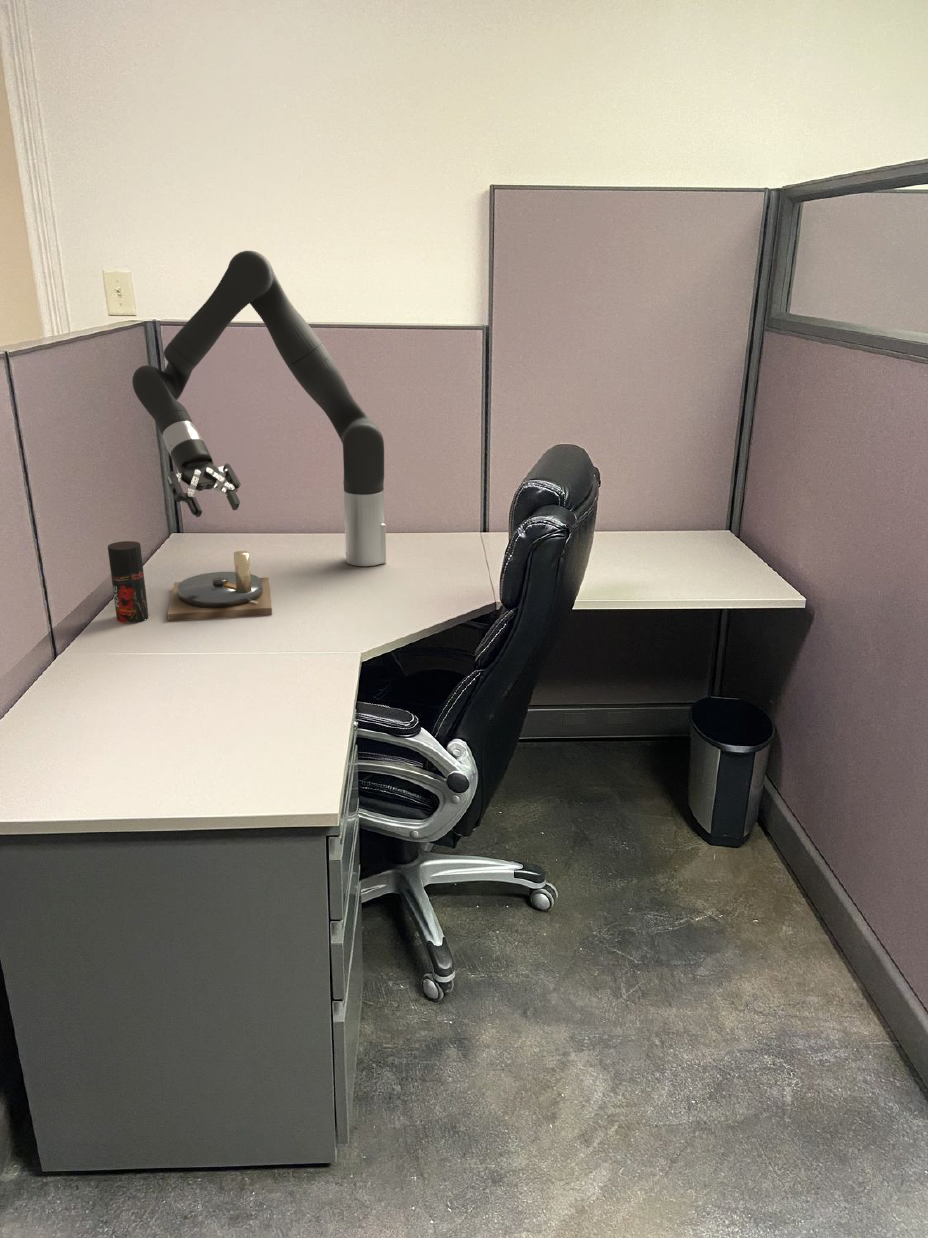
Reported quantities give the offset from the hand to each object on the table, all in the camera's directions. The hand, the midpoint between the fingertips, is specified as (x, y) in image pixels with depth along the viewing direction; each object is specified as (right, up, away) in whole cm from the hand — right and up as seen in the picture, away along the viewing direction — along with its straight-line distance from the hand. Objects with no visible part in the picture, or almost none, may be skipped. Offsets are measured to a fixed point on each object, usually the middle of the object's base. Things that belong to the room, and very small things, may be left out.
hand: (218, 511), depth 191 cm
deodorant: (-14, -22, -9) cm, 28 cm away
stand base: (+1, -19, +1) cm, 19 cm away
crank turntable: (+1, -17, 0) cm, 17 cm away
